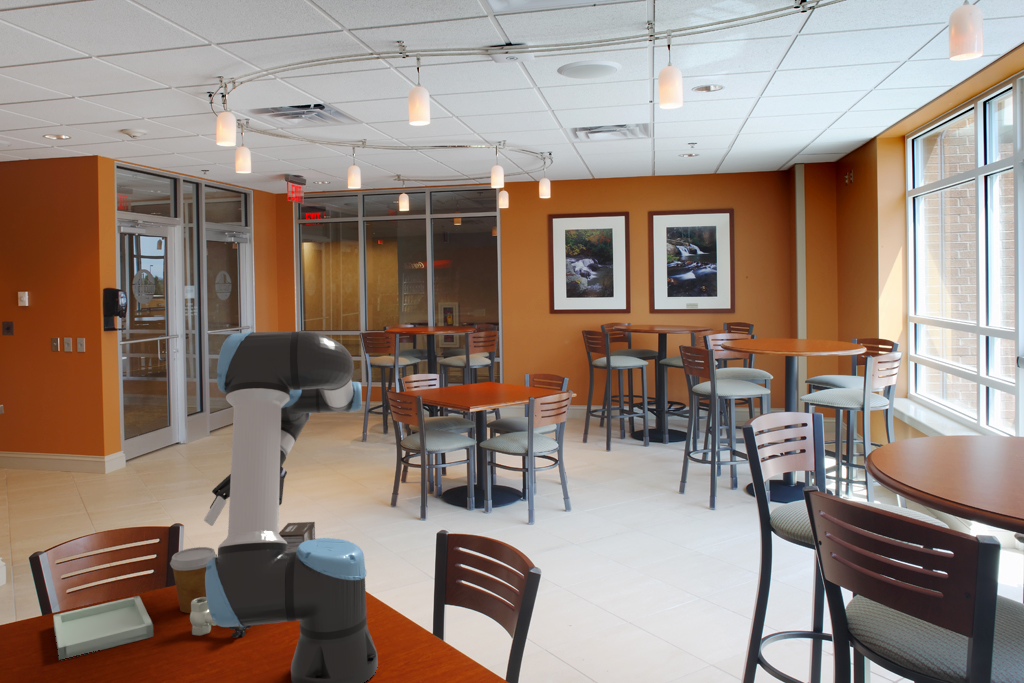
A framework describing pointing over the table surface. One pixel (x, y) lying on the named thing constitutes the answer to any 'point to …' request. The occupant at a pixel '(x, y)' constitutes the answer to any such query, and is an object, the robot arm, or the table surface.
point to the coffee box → (297, 534)
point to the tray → (101, 627)
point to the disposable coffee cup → (190, 574)
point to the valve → (207, 619)
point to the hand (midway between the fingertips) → (229, 526)
